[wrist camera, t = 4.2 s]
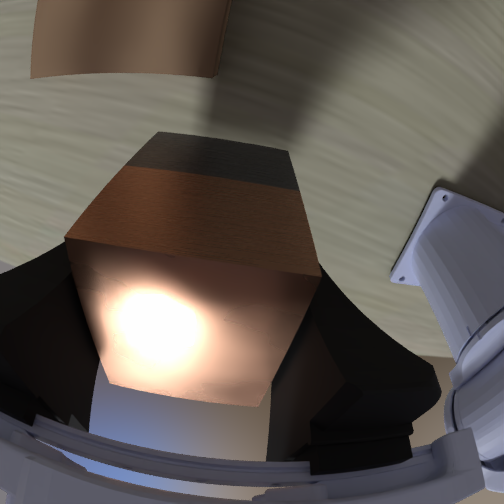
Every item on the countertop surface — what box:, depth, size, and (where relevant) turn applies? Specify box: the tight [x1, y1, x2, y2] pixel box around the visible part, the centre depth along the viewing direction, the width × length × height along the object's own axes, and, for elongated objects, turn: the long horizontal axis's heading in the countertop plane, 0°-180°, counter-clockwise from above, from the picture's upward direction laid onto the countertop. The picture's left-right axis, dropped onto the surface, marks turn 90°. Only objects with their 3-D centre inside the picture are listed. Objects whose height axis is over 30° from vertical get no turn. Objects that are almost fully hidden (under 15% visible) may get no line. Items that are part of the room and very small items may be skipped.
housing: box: [64, 132, 322, 407], centre depth 10 cm, size 5×6×7 cm
